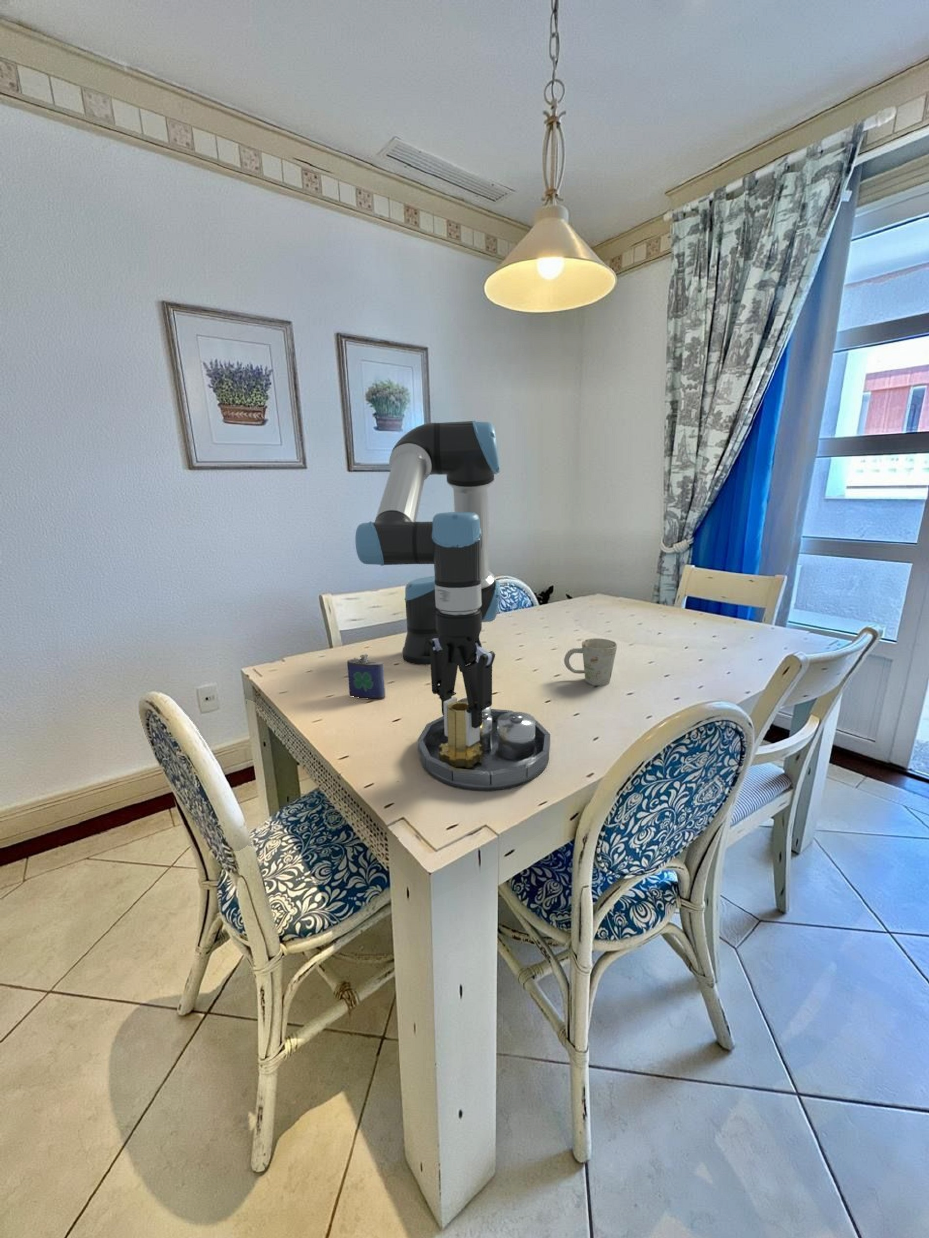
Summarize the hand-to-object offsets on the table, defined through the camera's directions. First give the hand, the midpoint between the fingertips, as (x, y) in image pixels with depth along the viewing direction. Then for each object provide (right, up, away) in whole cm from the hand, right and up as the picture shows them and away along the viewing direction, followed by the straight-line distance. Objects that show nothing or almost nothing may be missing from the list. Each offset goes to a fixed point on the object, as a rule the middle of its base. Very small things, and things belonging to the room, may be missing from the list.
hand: (461, 737), depth 86 cm
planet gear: (0, -4, +1) cm, 4 cm away
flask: (-23, +2, +32) cm, 39 cm away
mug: (+32, +5, +38) cm, 50 cm away
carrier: (+4, -4, +6) cm, 8 cm away
